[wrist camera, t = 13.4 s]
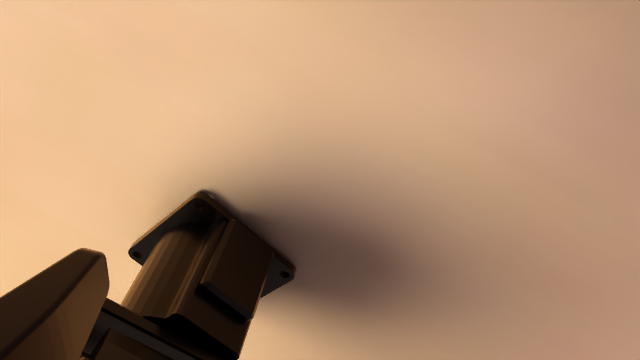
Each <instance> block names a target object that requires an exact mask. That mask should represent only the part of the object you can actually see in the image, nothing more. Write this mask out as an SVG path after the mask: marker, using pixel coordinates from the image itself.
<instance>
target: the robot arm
mask: <svg viewBox="0 0 640 360" xmlns="http://www.w3.org/2000/svg"><path fill="white" fill-rule="evenodd" d="M199 202H201V203H203V204H204V205H202V204H200V203H199ZM128 254H129V256H130V257H131V258H132V259H133V260H135V261H136V262H138V263H139V264H140V265H142V266H143V267H142V268H141V270H140V272H139V274H138V275H137V277H136V279H135V281H134V282H133V284H132V286H131V287H130V289H129V291H128V293H127V294H126V296H125V298H124V300H123V301H122V303H121V305H120V304H118V303H116V302H114V301H112V300H110V299H108V298H106V297H107V294H108V290H109V276H108V269H107V261H106V257H105V255H104V254H103V253H102V252H99V251H95V250H91V249H86V248H80V249H77V250H76V251H74V252H72V253H71V254H69V255H67V256H66V257H64V258H63V259H61V260H59V261H58V262H56V263H55V264H53V265H51V266H50V267H48V268H47V269H45V270H43V271H42V272H40V273H39V274H37V275H35V276H34V277H32V278H31V279H29V280H27V281H26V282H24V283H23V284H21V285H19V286H18V287H16V288H15V289H13V290H11V291H10V292H8V293H7V294H5V295H3V296H2V297H0V360H237V359H238V358H239V356H240V353H241V350H242V347H243V344H244V341H245V338H246V335H247V332H248V329H249V326H250V323H251V320H252V318H253V317H254V315H255V312H256V309H257V306H258V302H259V299H260V298H262V297H263V296H265V295H267V294H268V293H270V292H272V291H274V290H275V289H277V288H279V287H281V286H282V285H284V284H286V283H288V282H289V281H291V280H292V279H293V278H294V275H295V272H296V268H295V266H294V265H293V264H292V263H290V262H289V261H288V260H287V259H285V258H284V257H283V256H282V255H281V254H279V253H278V252H277V251H276V250H275V249H273V248H272V247H271V246H270V245H268V244H267V243H266V242H265V241H264V240H262V239H261V238H260V237H259V236H257V235H256V234H255V233H254V232H253V231H251V230H250V229H249V228H248V227H247V226H245V225H244V224H243V223H242V222H240V221H239V220H238V219H237V218H236V217H234V216H233V215H232V214H231V213H229V212H228V211H227V210H226V209H225V208H223V207H222V206H221V205H220V204H219V203H217V202H216V201H215V200H214V199H212V198H211V197H210V196H209V195H207V194H205V193H202V192H201V193H196V194H194V195H193V196H192V197H190V198H189V199H188V200H187V201H185V202H184V203H183V204H182V205H180V206H179V207H178V208H177V209H175V210H174V211H173V212H172V213H170V214H169V215H168V216H167V217H166V218H164V219H163V220H162V221H161V222H159V223H158V224H157V225H156V226H154V227H153V228H152V229H151V230H149V231H148V232H147V233H146V234H144V235H143V236H142V237H141V238H139V239H138V240H137V241H136V242H135V243H133V244H132V246H131V248H130V249H129V251H128ZM284 271H286V272H284Z"/></svg>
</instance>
